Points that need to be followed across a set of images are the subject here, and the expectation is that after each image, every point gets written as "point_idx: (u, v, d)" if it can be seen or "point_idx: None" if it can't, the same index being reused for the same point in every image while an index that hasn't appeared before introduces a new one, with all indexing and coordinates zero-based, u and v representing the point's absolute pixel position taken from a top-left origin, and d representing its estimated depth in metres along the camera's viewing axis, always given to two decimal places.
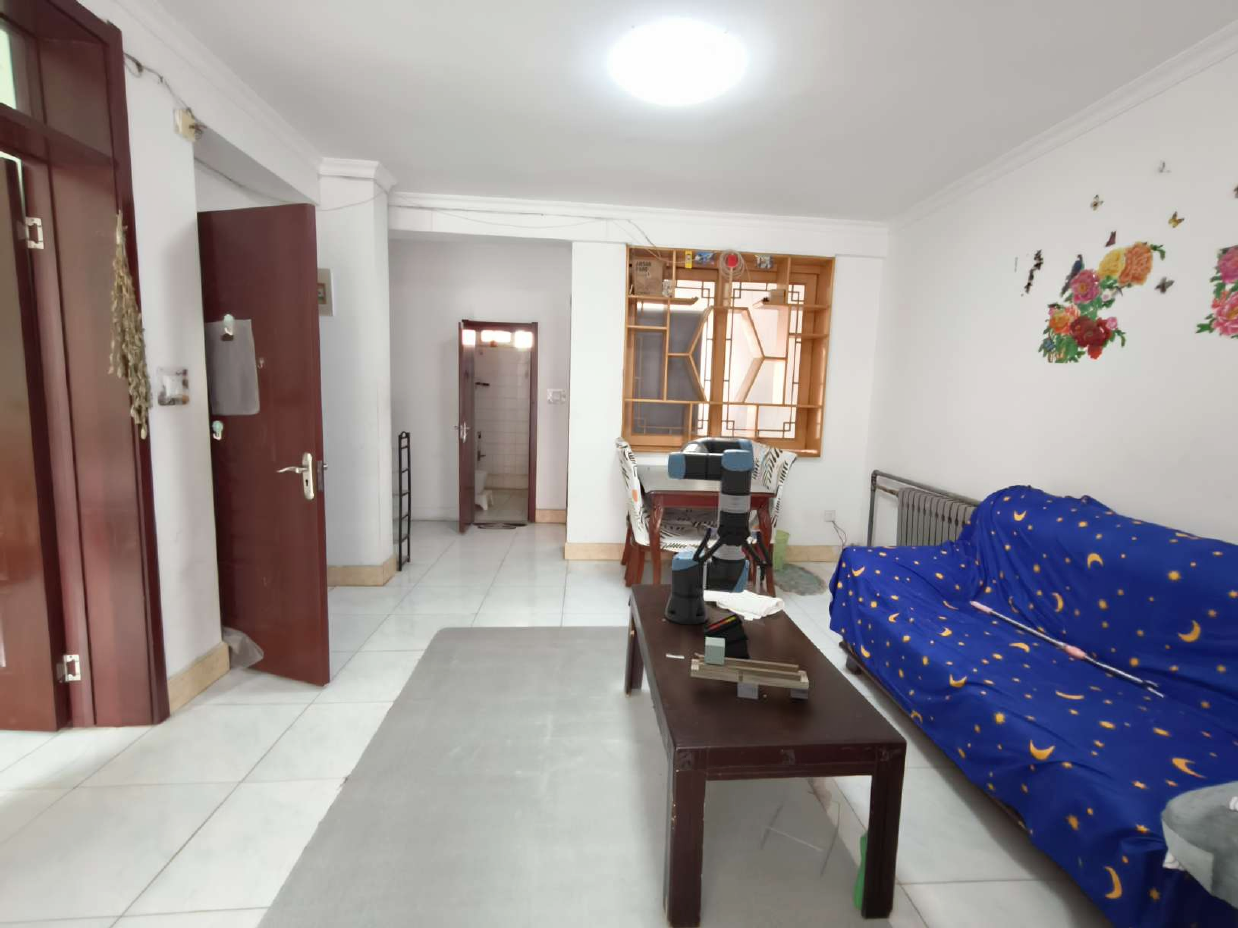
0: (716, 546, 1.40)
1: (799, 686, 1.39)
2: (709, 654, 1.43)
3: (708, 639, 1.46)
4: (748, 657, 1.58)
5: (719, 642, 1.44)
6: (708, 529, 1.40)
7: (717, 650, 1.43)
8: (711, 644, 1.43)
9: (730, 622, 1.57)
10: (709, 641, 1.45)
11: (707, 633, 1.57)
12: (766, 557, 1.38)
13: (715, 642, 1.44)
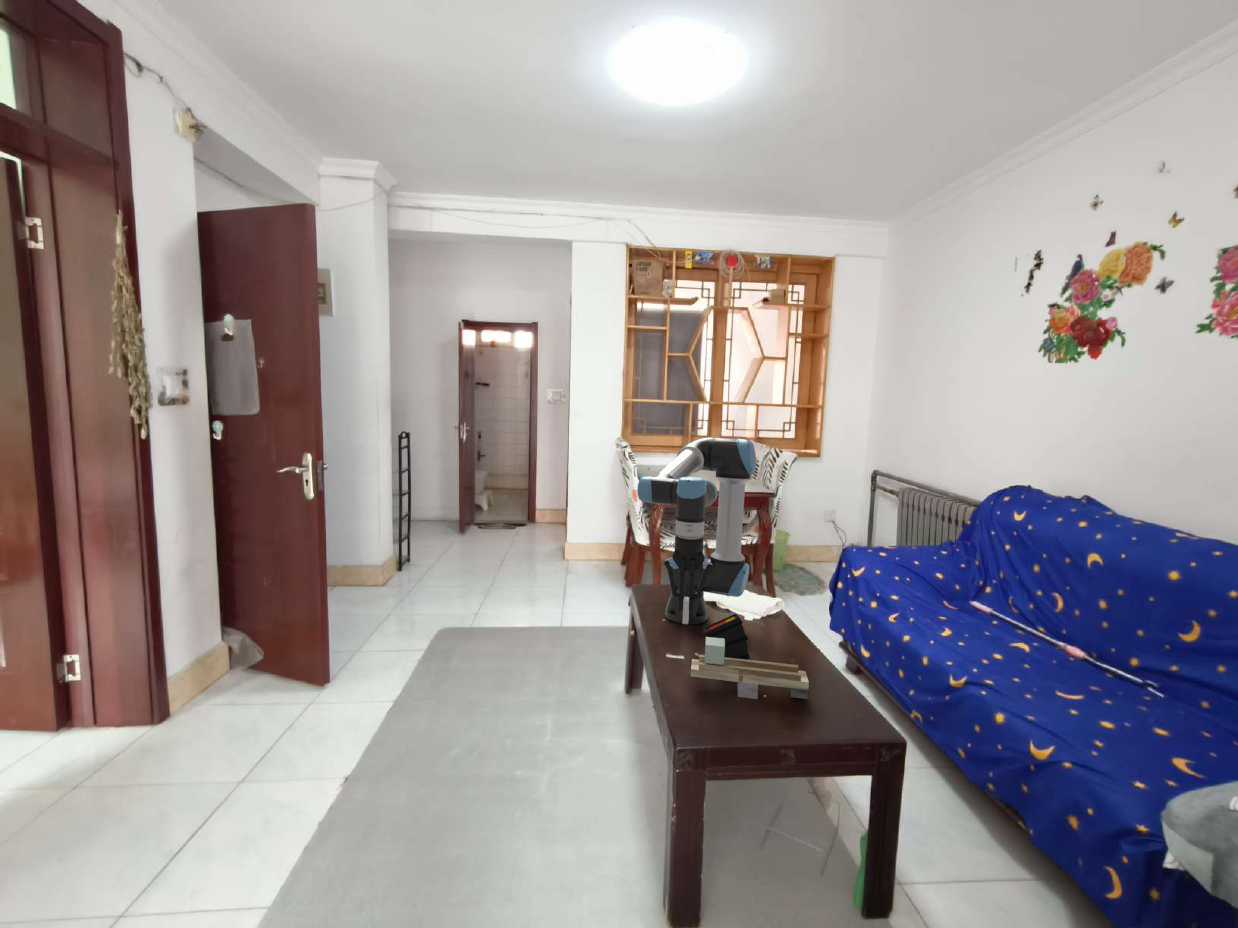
0: (681, 576, 1.43)
1: (799, 686, 1.39)
2: (709, 654, 1.43)
3: (708, 639, 1.46)
4: (748, 657, 1.58)
5: (719, 642, 1.44)
6: (665, 563, 1.44)
7: (717, 650, 1.43)
8: (711, 644, 1.43)
9: (730, 622, 1.57)
10: (709, 641, 1.45)
11: (707, 633, 1.57)
12: (700, 588, 1.43)
13: (715, 642, 1.44)
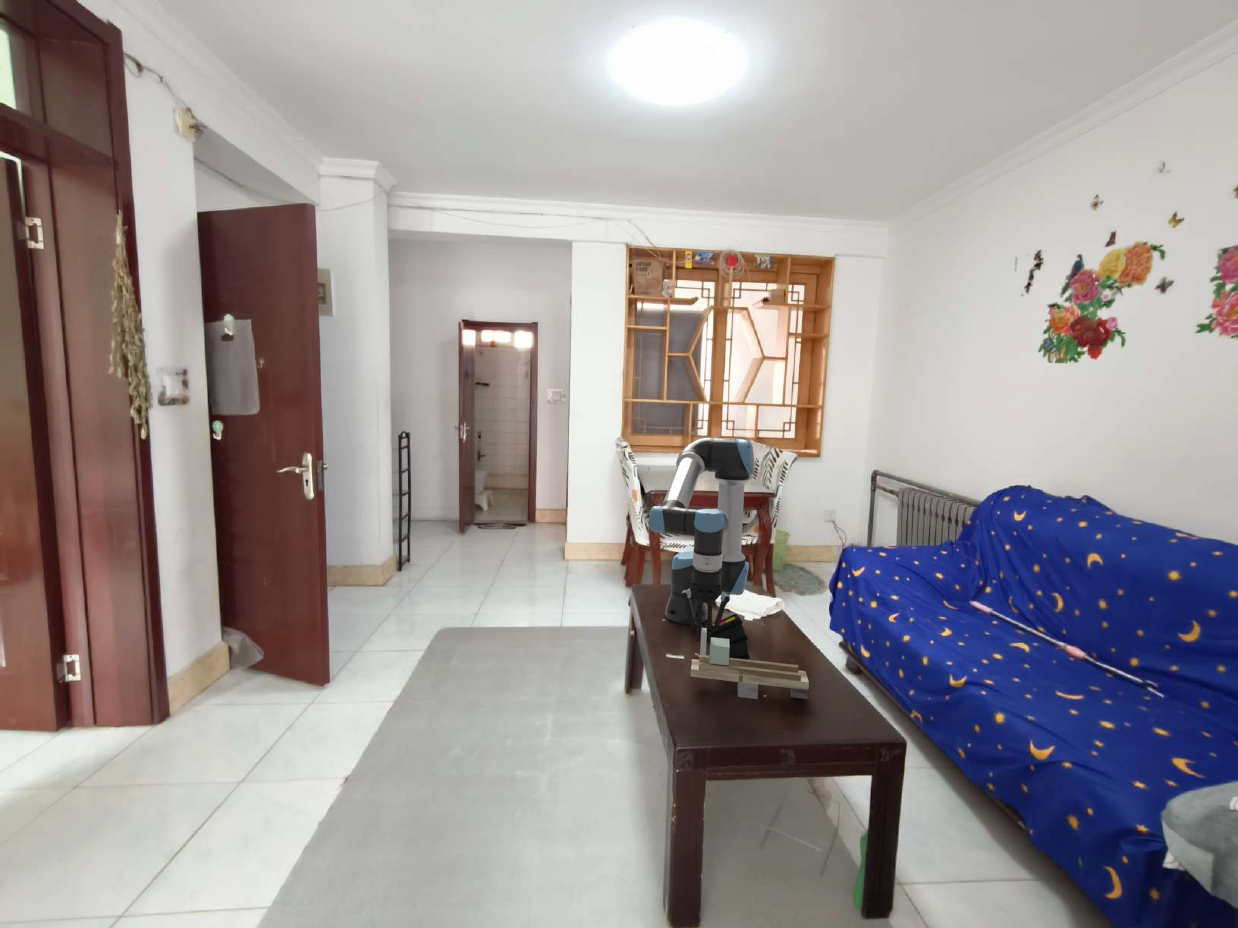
0: (699, 608, 1.44)
1: (799, 686, 1.39)
2: (714, 655, 1.43)
3: (713, 639, 1.46)
4: (748, 657, 1.58)
5: (724, 642, 1.44)
6: (683, 595, 1.44)
7: (722, 651, 1.42)
8: (716, 645, 1.43)
9: (730, 622, 1.57)
10: (714, 641, 1.45)
11: None
12: (717, 620, 1.43)
13: (720, 643, 1.44)
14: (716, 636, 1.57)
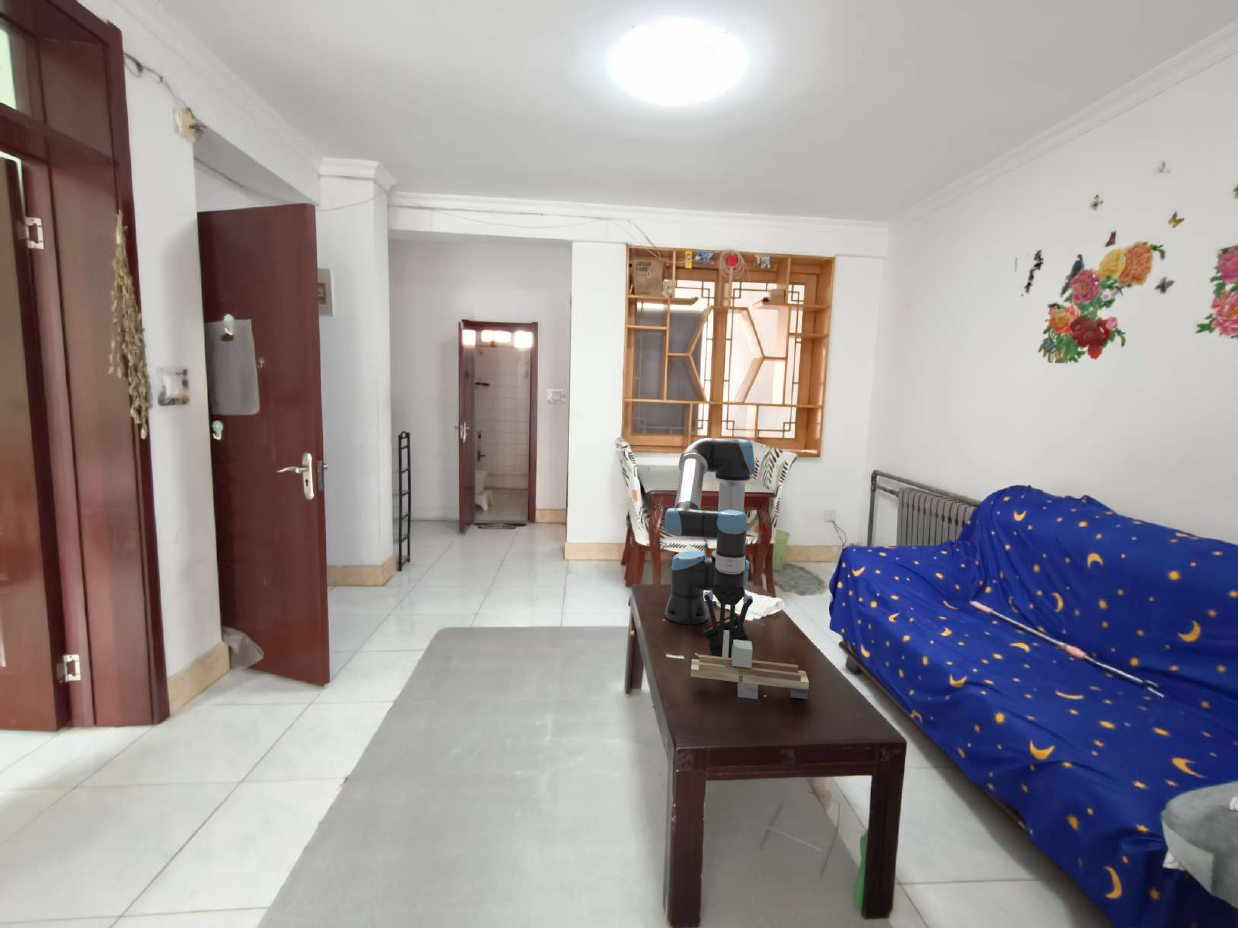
0: (722, 610, 1.42)
1: (799, 686, 1.39)
2: (736, 657, 1.42)
3: (735, 641, 1.45)
4: None
5: (746, 645, 1.43)
6: (705, 597, 1.43)
7: (745, 653, 1.41)
8: (739, 647, 1.42)
9: None
10: (736, 643, 1.44)
11: (707, 633, 1.57)
12: (740, 622, 1.42)
13: (742, 645, 1.43)
14: (716, 636, 1.57)
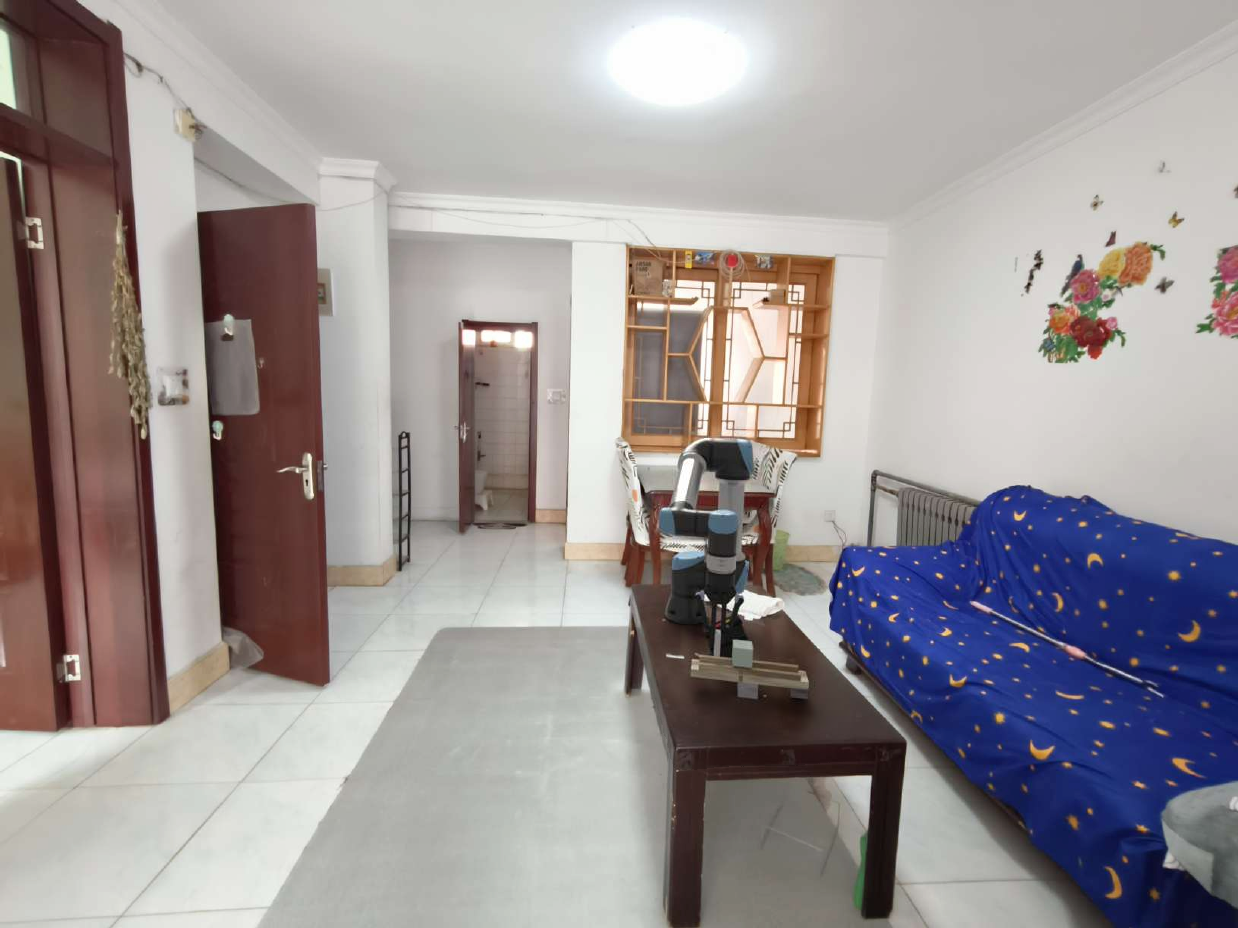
0: (713, 610, 1.43)
1: (799, 686, 1.39)
2: (737, 657, 1.42)
3: (735, 641, 1.45)
4: None
5: (747, 645, 1.43)
6: (696, 597, 1.43)
7: (745, 653, 1.41)
8: (739, 647, 1.42)
9: None
10: (737, 643, 1.44)
11: (707, 633, 1.57)
12: (731, 622, 1.43)
13: (743, 645, 1.43)
14: None
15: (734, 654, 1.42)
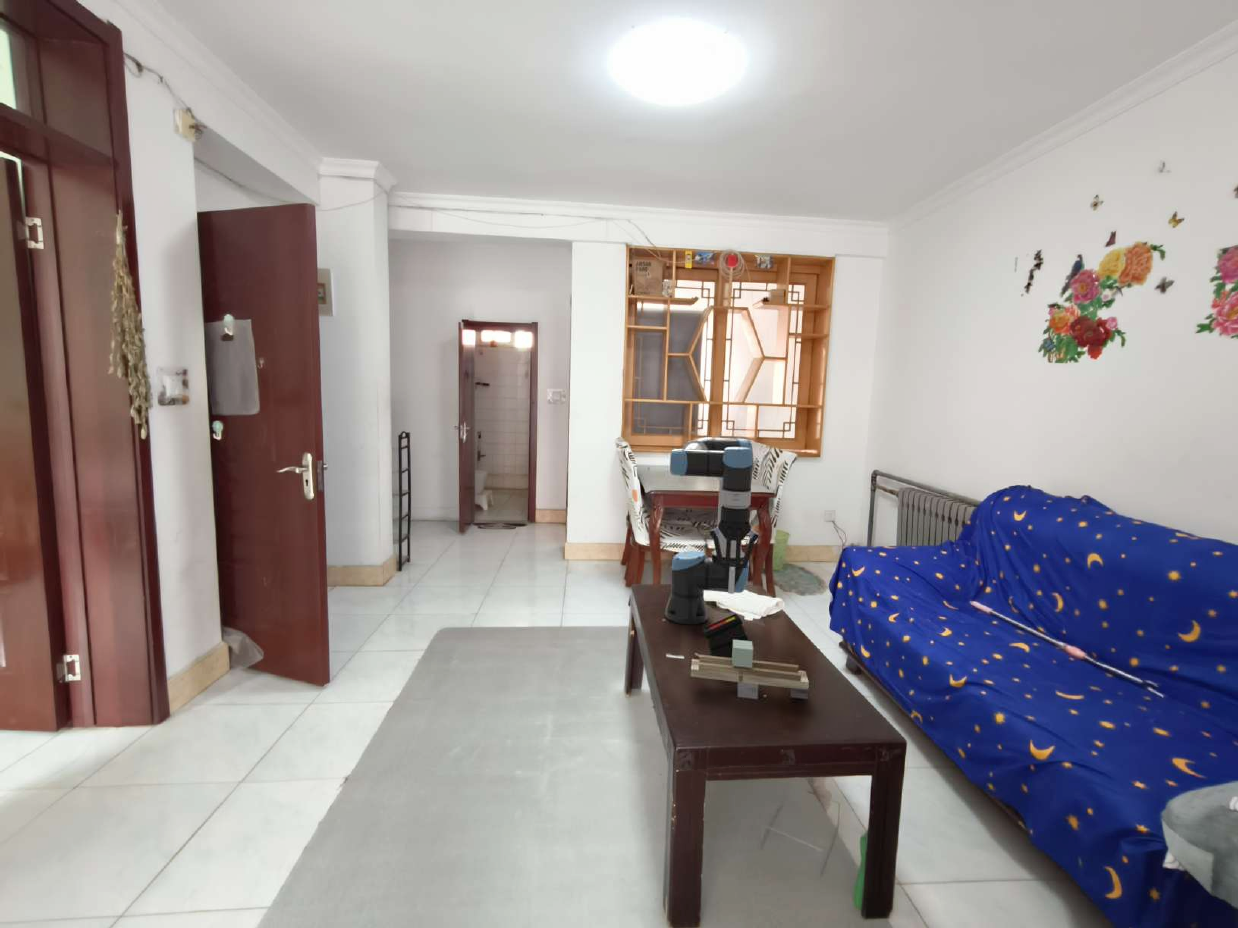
0: (727, 546, 1.43)
1: (799, 686, 1.39)
2: (737, 657, 1.42)
3: (735, 641, 1.45)
4: None
5: (747, 645, 1.43)
6: (711, 533, 1.44)
7: (745, 653, 1.41)
8: (739, 647, 1.42)
9: (730, 622, 1.57)
10: (737, 643, 1.44)
11: (707, 633, 1.57)
12: (746, 558, 1.43)
13: (743, 645, 1.43)
14: (716, 636, 1.57)
15: (734, 654, 1.42)
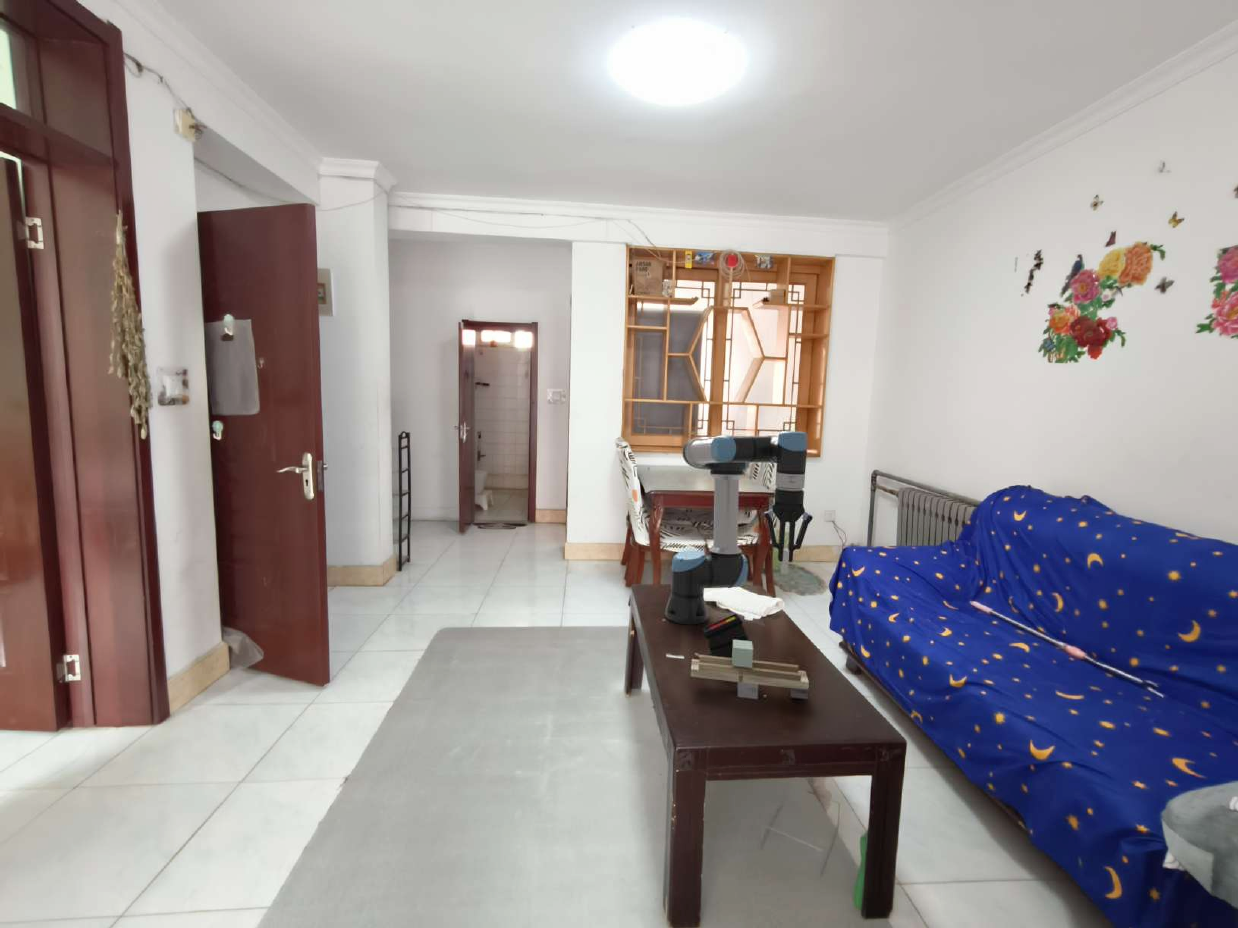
0: (782, 527, 1.47)
1: (799, 686, 1.39)
2: (737, 657, 1.42)
3: (735, 641, 1.45)
4: None
5: (747, 645, 1.43)
6: (765, 515, 1.48)
7: (745, 653, 1.41)
8: (739, 647, 1.42)
9: (730, 622, 1.57)
10: (737, 643, 1.44)
11: (707, 633, 1.57)
12: (800, 539, 1.47)
13: (743, 645, 1.43)
14: (716, 636, 1.57)
15: (734, 654, 1.42)
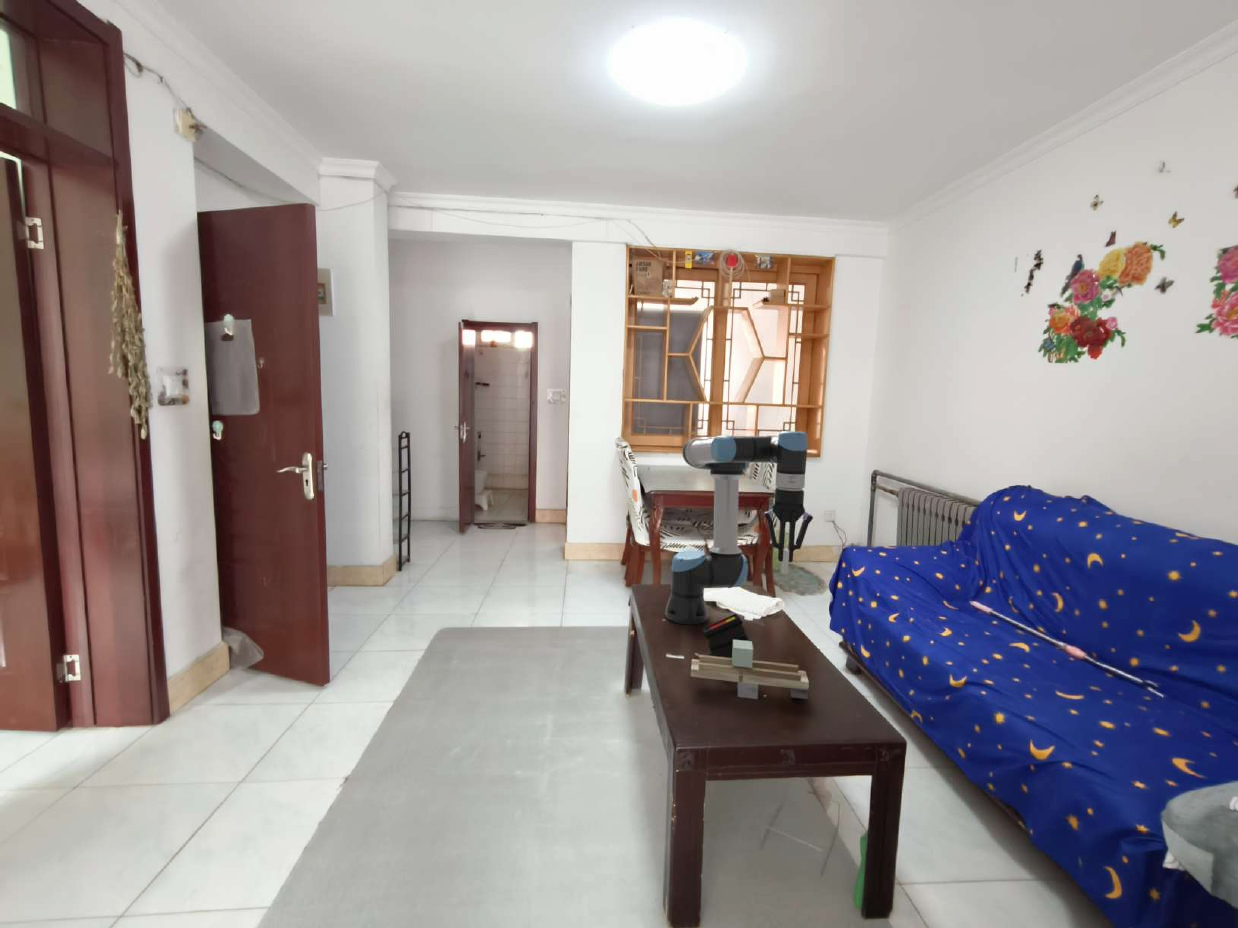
0: (782, 527, 1.47)
1: (799, 686, 1.39)
2: (737, 657, 1.42)
3: (735, 641, 1.45)
4: None
5: (747, 645, 1.43)
6: (766, 515, 1.48)
7: (745, 653, 1.41)
8: (739, 647, 1.42)
9: (730, 622, 1.57)
10: (737, 643, 1.44)
11: (707, 633, 1.57)
12: (800, 539, 1.47)
13: (743, 645, 1.43)
14: (716, 636, 1.57)
15: (734, 654, 1.42)
